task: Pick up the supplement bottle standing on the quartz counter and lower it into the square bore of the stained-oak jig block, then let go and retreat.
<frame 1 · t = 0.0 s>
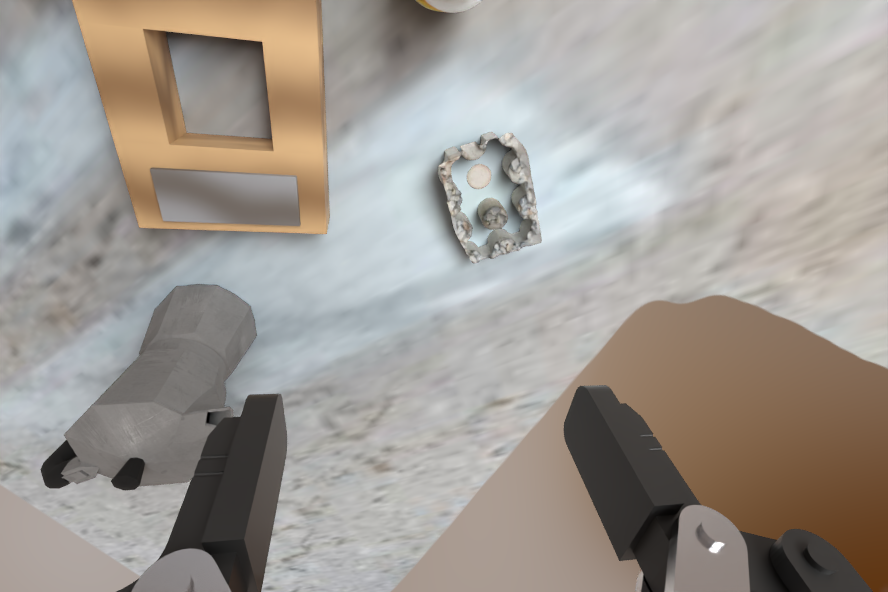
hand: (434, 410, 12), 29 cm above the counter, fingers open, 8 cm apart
jig: (227, 87, 32), on the counter
egg carton: (485, 191, 40), on the counter
coffeepot: (199, 323, 43), on the counter
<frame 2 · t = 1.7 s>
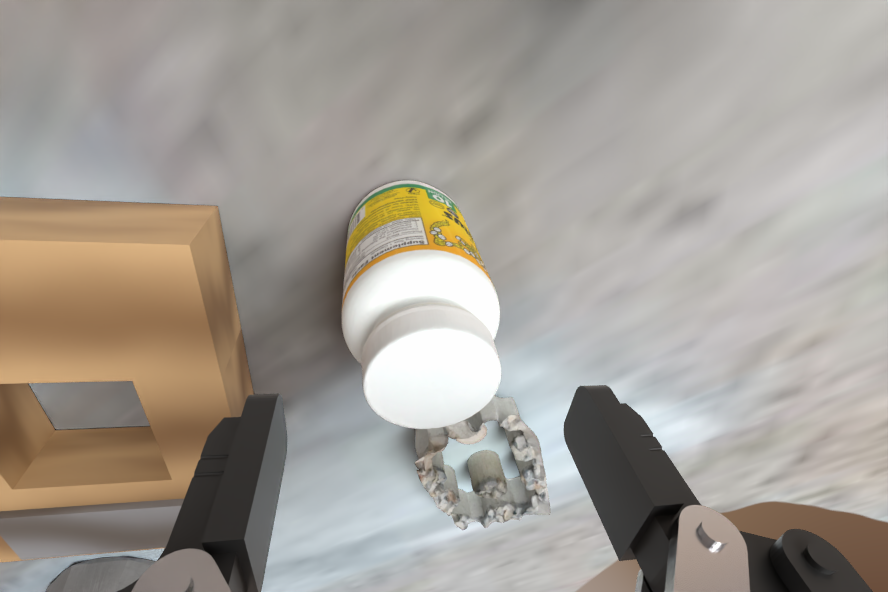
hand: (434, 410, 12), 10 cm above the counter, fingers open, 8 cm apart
jig: (106, 382, 22), on the counter
supplement bottle: (407, 232, 20), on the counter
egg carton: (478, 440, 30), on the counter
coffeepot: (112, 586, 34), on the counter
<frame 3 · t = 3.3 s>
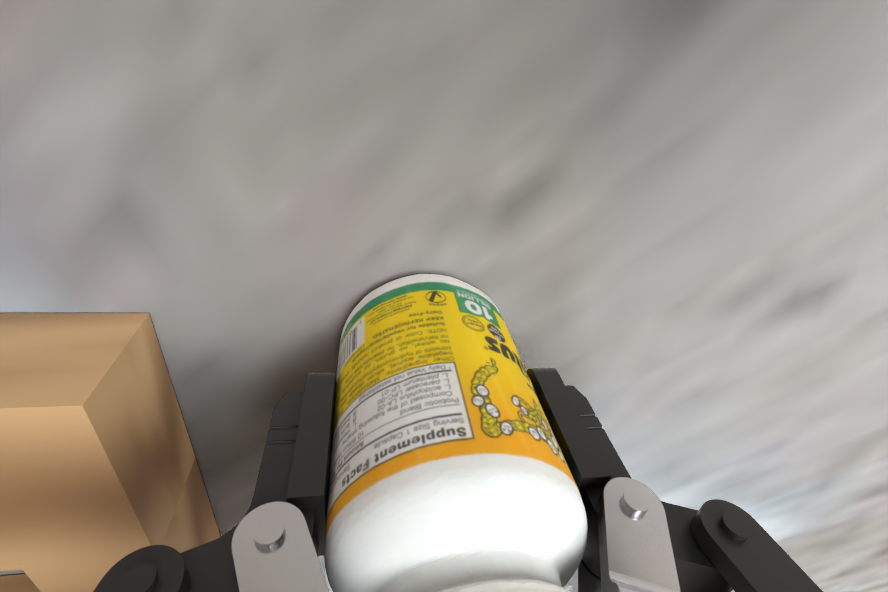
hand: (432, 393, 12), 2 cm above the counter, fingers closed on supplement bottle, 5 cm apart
jig: (14, 526, 17), on the counter
supplement bottle: (423, 334, 15), on the counter, touching gripper
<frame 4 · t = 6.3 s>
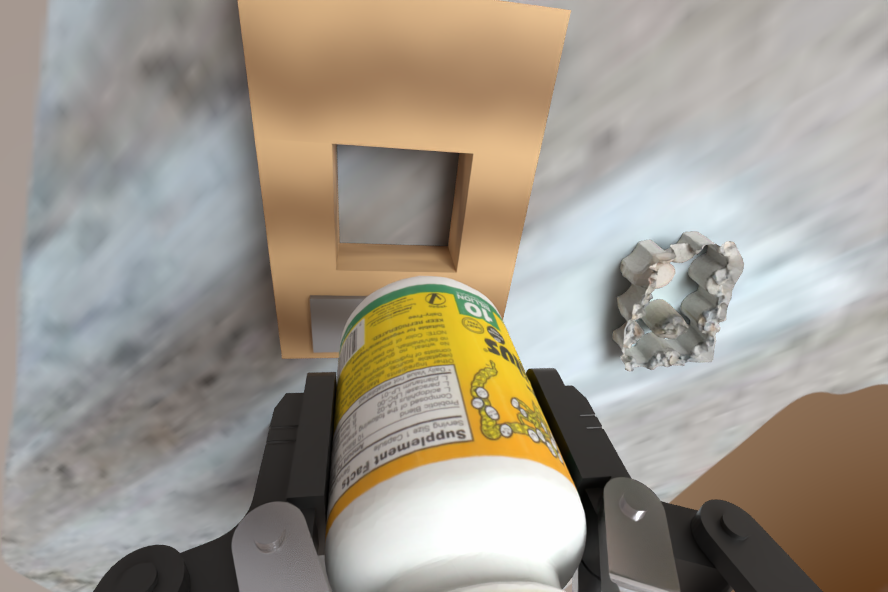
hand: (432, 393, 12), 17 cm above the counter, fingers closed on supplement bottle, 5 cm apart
jig: (397, 192, 26), on the counter
supplement bottle: (423, 336, 15), point 14 cm above the counter, touching gripper
egg carton: (656, 290, 34), on the counter
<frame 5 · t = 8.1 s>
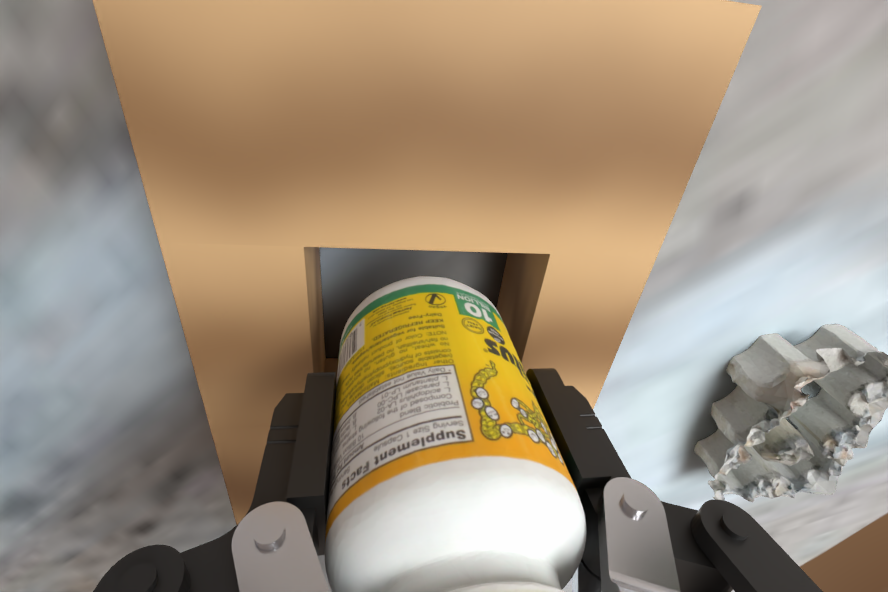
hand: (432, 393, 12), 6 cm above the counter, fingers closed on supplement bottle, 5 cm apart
jig: (414, 289, 17), on the counter
supplement bottle: (423, 336, 15), point 3 cm above the counter, touching gripper
egg carton: (762, 392, 25), on the counter
when the fingers open (4 cm above the counter, at t = 9.3 s): supplement bottle drops 2 cm, resting in jig.
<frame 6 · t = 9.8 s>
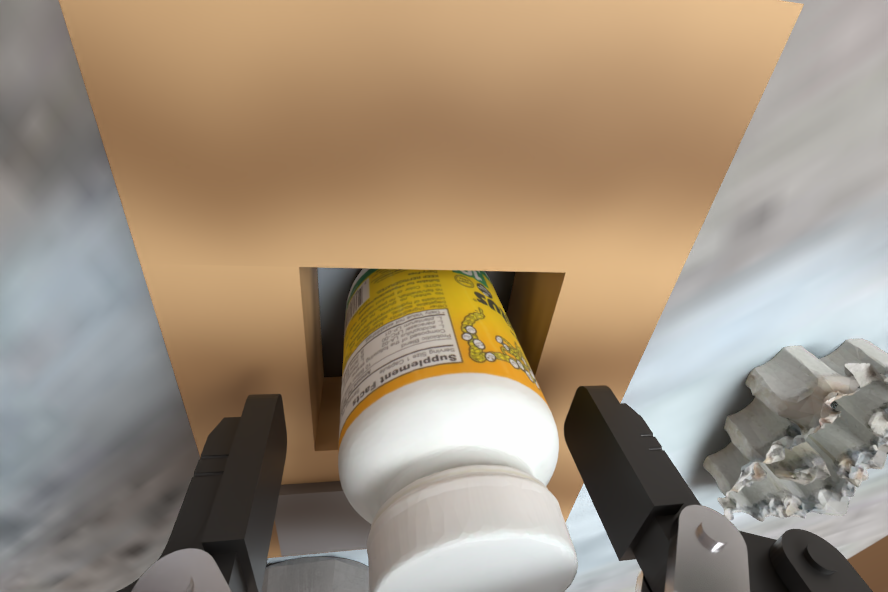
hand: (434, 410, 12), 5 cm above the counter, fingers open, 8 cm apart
jig: (417, 305, 16), on the counter
supplement bottle: (420, 300, 16), resting in jig
egg carton: (777, 407, 24), on the counter
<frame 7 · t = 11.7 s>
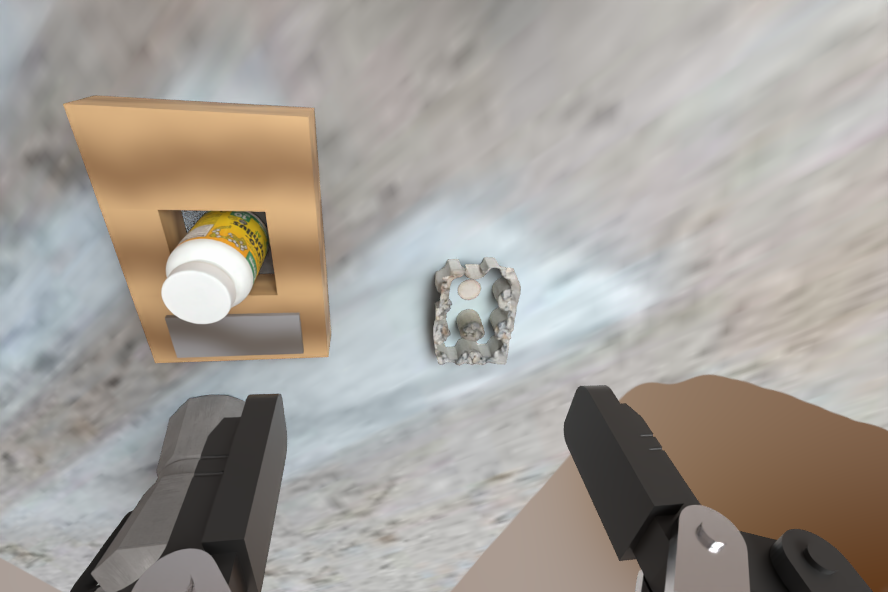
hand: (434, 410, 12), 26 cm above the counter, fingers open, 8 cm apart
jig: (234, 236, 35), on the counter
supplement bottle: (236, 234, 35), resting in jig
egg carton: (469, 301, 42), on the counter
coffeepot: (211, 426, 46), on the counter
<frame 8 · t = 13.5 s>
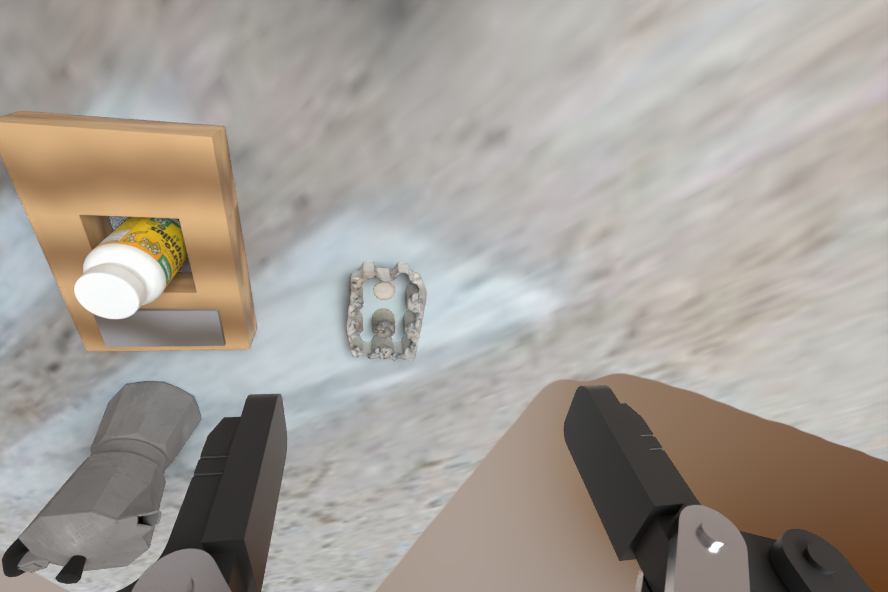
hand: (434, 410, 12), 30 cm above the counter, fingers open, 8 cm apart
jig: (159, 237, 38), on the counter
supplement bottle: (161, 236, 39), resting in jig
egg carton: (385, 301, 46), on the counter
coffeepot: (149, 410, 49), on the counter
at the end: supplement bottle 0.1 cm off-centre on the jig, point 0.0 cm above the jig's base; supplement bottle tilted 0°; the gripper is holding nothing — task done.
